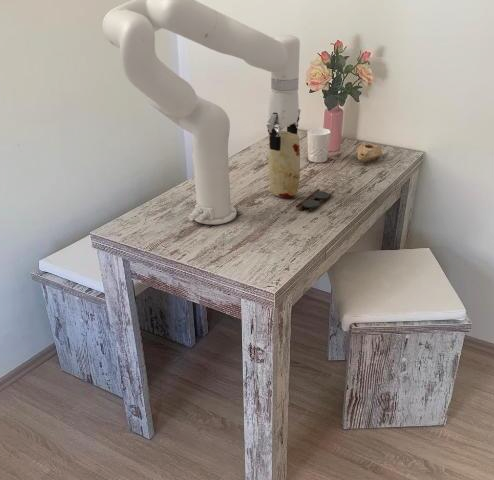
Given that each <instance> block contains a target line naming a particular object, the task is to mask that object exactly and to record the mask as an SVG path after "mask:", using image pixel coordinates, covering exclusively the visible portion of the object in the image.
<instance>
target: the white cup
mask: <svg viewBox="0 0 494 480" xmlns="http://www.w3.org/2000/svg"><path fill="white" fill-rule="evenodd" d="M306 136H307V137H306V139H307V159H308V161H310V162H312V163H319V164H320V163H325V162H326V161H327V162H328V159H329V152H330V151H329V150H330V143H331V130H330V129H329V128H324V127H313V128H310V129H308V130H307V132H306Z"/></svg>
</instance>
